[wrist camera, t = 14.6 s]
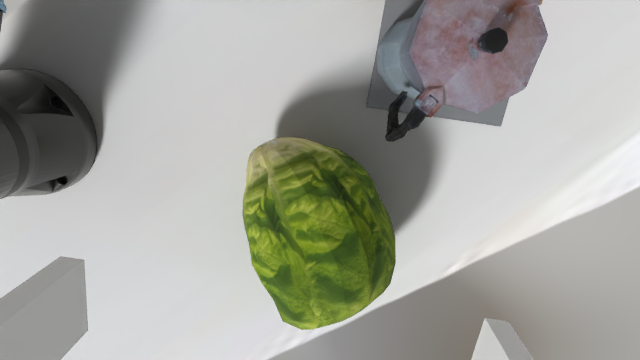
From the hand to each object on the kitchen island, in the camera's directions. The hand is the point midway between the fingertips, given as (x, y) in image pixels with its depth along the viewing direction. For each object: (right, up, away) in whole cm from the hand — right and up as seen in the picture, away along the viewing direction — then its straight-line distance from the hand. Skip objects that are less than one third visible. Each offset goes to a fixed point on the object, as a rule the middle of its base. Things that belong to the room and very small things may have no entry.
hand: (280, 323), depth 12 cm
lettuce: (+1, +2, +36) cm, 36 cm away
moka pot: (+12, +18, +30) cm, 37 cm away
